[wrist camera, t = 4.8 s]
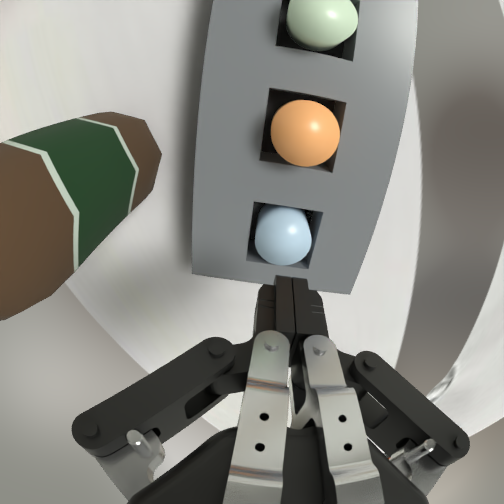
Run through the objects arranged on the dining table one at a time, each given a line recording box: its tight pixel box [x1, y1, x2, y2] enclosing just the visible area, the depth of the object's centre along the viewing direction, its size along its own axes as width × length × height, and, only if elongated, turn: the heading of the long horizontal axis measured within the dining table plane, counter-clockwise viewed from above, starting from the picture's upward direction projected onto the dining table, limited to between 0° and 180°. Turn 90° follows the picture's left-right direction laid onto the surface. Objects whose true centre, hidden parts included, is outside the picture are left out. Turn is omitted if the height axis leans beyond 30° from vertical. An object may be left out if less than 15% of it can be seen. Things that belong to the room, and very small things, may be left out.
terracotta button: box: [271, 100, 340, 167], centre depth 15 cm, size 4×4×3 cm
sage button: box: [286, 0, 358, 51], centre depth 11 cm, size 4×4×3 cm
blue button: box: [255, 203, 312, 265], centre depth 19 cm, size 4×4×3 cm
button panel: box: [192, 0, 418, 294], centre depth 16 cm, size 22×12×3 cm, turn 173°
